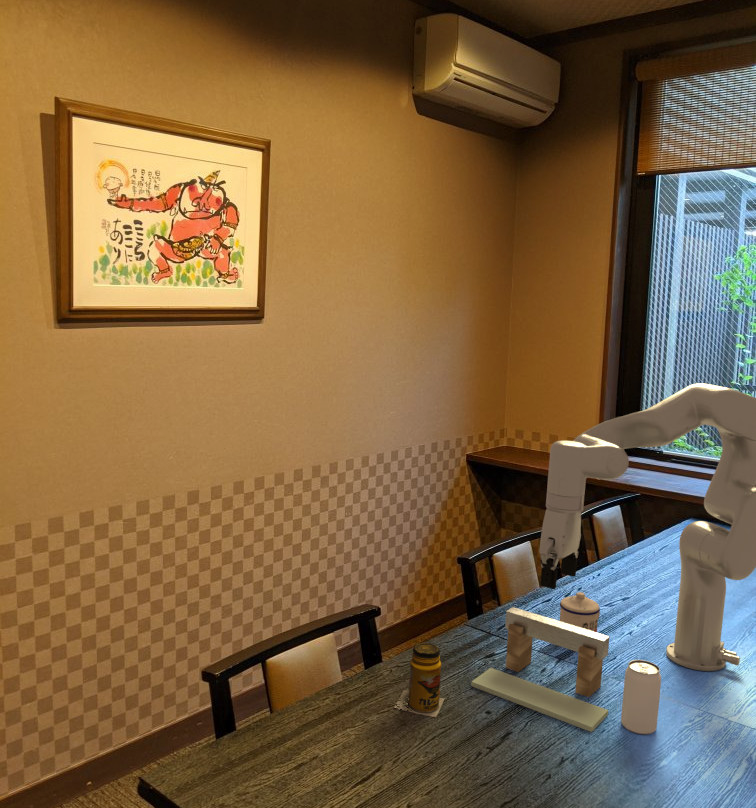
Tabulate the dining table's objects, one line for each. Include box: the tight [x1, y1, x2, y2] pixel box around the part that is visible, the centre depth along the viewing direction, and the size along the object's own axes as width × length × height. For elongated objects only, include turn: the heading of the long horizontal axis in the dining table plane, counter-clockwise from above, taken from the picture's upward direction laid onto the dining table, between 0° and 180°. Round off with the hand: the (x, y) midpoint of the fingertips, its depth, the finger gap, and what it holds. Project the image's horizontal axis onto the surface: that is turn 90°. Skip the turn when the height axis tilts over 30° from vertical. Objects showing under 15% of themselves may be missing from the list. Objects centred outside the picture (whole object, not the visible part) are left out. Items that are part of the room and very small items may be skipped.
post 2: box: [574, 646, 604, 698], centre depth 163 cm, size 3×6×10 cm, turn 143°
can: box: [620, 659, 662, 736], centre depth 150 cm, size 6×6×12 cm
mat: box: [470, 667, 609, 733], centre depth 159 cm, size 26×8×1 cm, turn 53°
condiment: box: [393, 642, 446, 718], centre depth 155 cm, size 7×8×12 cm
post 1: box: [505, 624, 534, 673], centre depth 173 cm, size 3×6×10 cm, turn 143°
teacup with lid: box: [559, 591, 601, 633], centre depth 187 cm, size 12×9×12 cm
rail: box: [504, 606, 610, 661], centre depth 167 cm, size 22×3×4 cm, turn 53°
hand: (558, 580), depth 166 cm, fingers open, 9 cm apart
